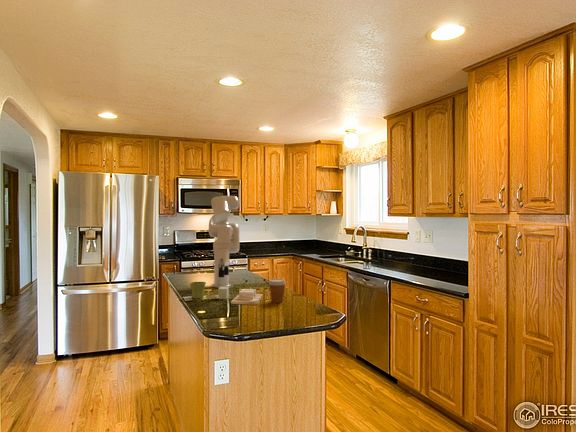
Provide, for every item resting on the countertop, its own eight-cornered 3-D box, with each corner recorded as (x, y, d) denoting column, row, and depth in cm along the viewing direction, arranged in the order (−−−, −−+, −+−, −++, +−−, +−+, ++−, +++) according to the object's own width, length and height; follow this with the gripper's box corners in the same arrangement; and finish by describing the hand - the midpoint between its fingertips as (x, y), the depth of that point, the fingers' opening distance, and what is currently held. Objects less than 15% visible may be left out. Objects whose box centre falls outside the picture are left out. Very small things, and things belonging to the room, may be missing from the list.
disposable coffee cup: (265, 300, 229) (265, 279, 229) (280, 299, 234) (281, 278, 234) (273, 304, 221) (273, 282, 221) (288, 302, 225) (288, 280, 225)
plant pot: (186, 298, 233) (186, 283, 233) (195, 295, 242) (195, 281, 242) (200, 300, 230) (200, 284, 230) (209, 296, 239) (209, 282, 239)
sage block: (220, 297, 238) (220, 287, 238) (228, 297, 238) (228, 287, 238) (218, 299, 233) (218, 288, 233) (226, 299, 233) (226, 288, 233)
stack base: (239, 296, 241) (239, 287, 241) (262, 296, 239) (262, 287, 239) (231, 303, 221) (231, 293, 221) (256, 304, 219) (256, 294, 219)
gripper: (221, 245, 244) (221, 274, 244) (213, 247, 227) (213, 278, 227) (233, 245, 243) (233, 274, 243) (226, 247, 226) (226, 278, 226)
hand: (223, 276), depth 235 cm, fingers open, 9 cm apart
